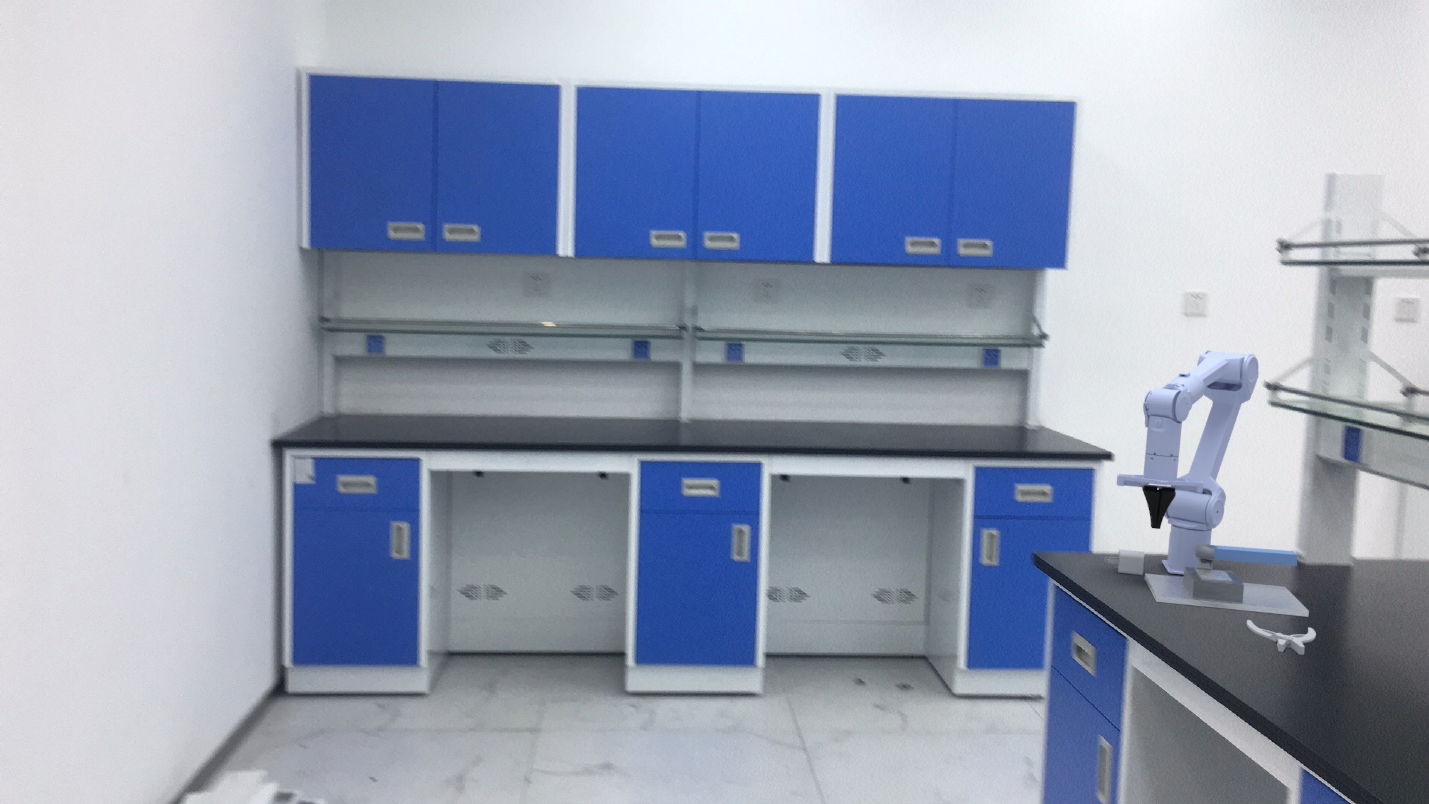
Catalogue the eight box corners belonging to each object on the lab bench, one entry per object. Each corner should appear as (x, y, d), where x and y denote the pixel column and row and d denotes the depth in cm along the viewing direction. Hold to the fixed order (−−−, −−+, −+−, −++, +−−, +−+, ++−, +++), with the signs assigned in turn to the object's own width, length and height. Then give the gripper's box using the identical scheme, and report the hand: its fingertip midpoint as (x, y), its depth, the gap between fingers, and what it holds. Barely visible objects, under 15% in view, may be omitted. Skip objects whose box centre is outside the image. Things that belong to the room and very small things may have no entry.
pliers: (1313, 622, 179) (1329, 650, 165) (1312, 632, 179) (1328, 660, 165) (1246, 614, 183) (1255, 640, 169) (1245, 623, 183) (1254, 650, 169)
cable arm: (1197, 558, 202) (1198, 547, 202) (1193, 553, 206) (1194, 543, 205) (1297, 566, 199) (1298, 555, 199) (1290, 561, 203) (1291, 550, 202)
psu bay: (1144, 578, 208) (1146, 552, 207) (1284, 592, 202) (1287, 564, 202) (1156, 601, 192) (1158, 572, 192) (1308, 616, 187) (1311, 587, 186)
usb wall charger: (1142, 576, 210) (1144, 555, 210) (1104, 572, 212) (1105, 551, 212) (1141, 571, 214) (1143, 550, 213) (1103, 567, 216) (1105, 547, 216)
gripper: (1122, 453, 200) (1116, 527, 202) (1208, 460, 197) (1201, 535, 198) (1118, 449, 207) (1112, 520, 209) (1201, 455, 204) (1194, 528, 205)
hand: (1155, 527), depth 204 cm, fingers closed
